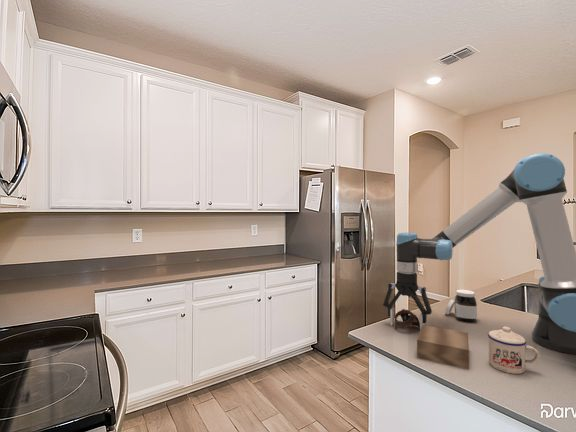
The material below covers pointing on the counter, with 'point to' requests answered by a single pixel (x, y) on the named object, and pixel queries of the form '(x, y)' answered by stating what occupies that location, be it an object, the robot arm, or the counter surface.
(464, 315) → the spread jar
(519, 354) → the teacup with lid
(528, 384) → the counter surface
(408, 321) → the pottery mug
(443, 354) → the walnut block
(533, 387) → the counter surface
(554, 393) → the counter surface
